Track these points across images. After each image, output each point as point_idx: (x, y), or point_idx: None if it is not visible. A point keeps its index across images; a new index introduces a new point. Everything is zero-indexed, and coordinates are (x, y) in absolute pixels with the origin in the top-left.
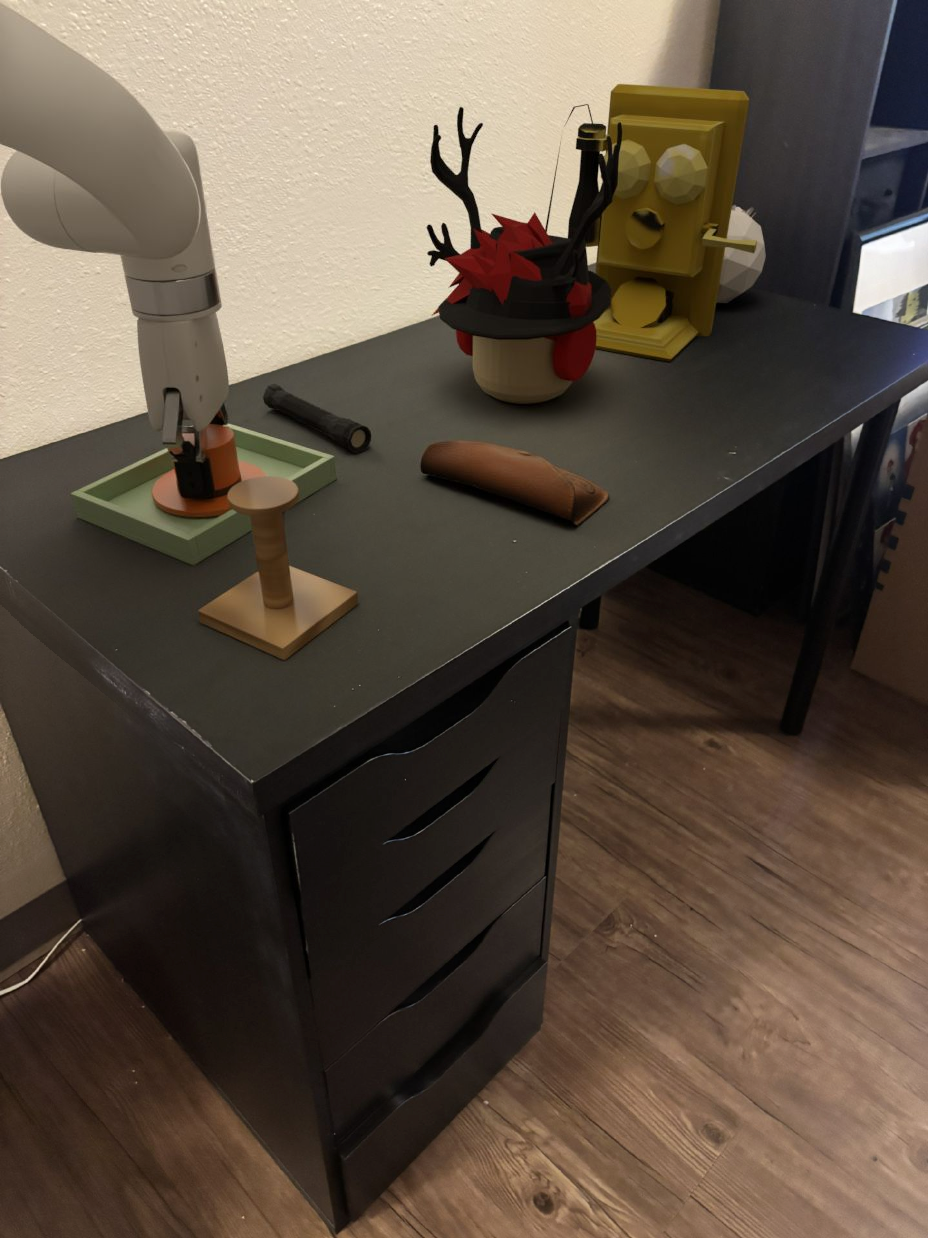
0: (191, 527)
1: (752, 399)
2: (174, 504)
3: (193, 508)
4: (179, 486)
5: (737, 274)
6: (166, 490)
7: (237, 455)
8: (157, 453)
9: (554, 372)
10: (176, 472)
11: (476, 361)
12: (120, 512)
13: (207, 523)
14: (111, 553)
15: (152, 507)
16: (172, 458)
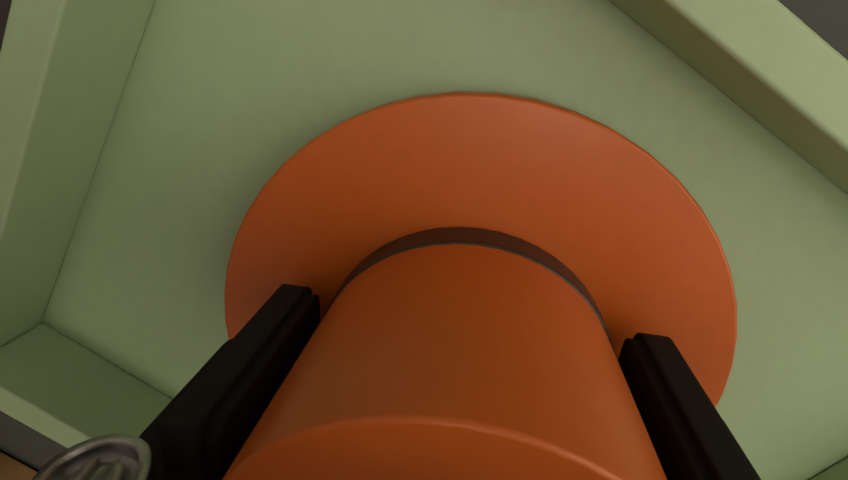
0: (187, 298)
1: None
2: (270, 241)
3: (248, 318)
4: (263, 309)
5: None
6: (404, 179)
7: (825, 402)
8: (818, 64)
9: None
10: (215, 360)
11: None
12: (4, 41)
13: (50, 416)
14: (5, 12)
15: (322, 114)
16: (50, 468)
